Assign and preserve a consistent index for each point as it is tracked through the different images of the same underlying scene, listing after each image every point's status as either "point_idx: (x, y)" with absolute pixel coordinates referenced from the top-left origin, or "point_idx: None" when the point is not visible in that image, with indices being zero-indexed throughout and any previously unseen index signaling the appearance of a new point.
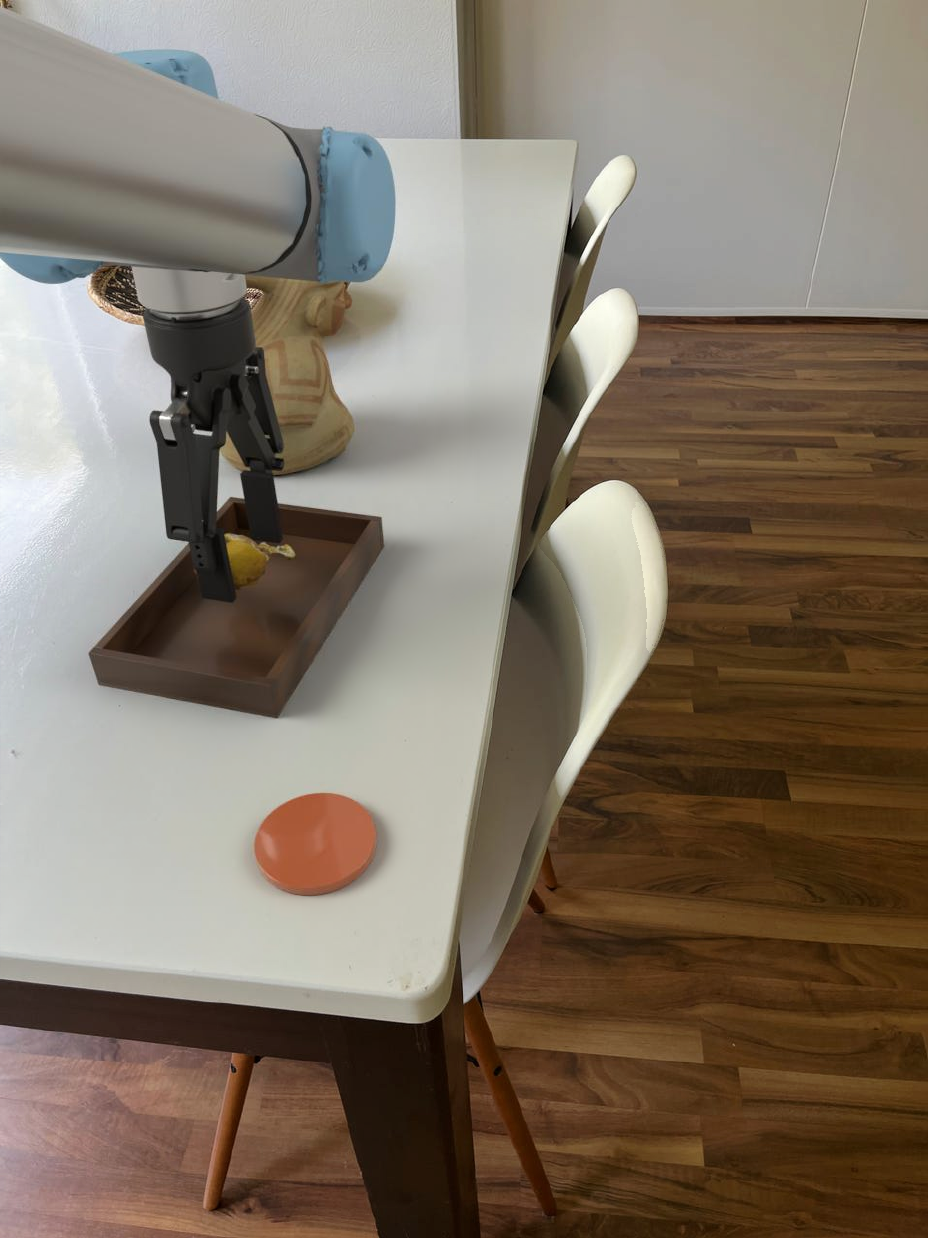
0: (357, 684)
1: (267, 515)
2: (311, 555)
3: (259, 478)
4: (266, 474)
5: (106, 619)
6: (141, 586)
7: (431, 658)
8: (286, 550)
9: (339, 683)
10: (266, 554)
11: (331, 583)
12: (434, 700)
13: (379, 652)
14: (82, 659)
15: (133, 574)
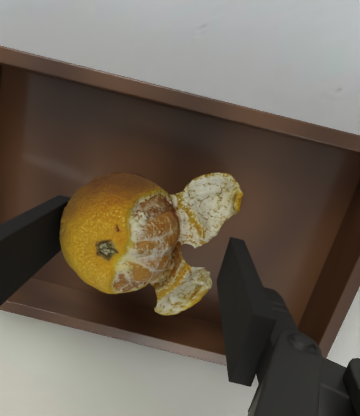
0: (43, 337)
1: (224, 298)
2: (277, 272)
3: (236, 354)
4: (246, 373)
5: (131, 4)
6: (217, 34)
7: (89, 395)
8: (187, 298)
9: (42, 321)
10: (157, 281)
11: (147, 339)
12: (32, 397)
13: (94, 353)
14: (39, 2)
15: (252, 6)
